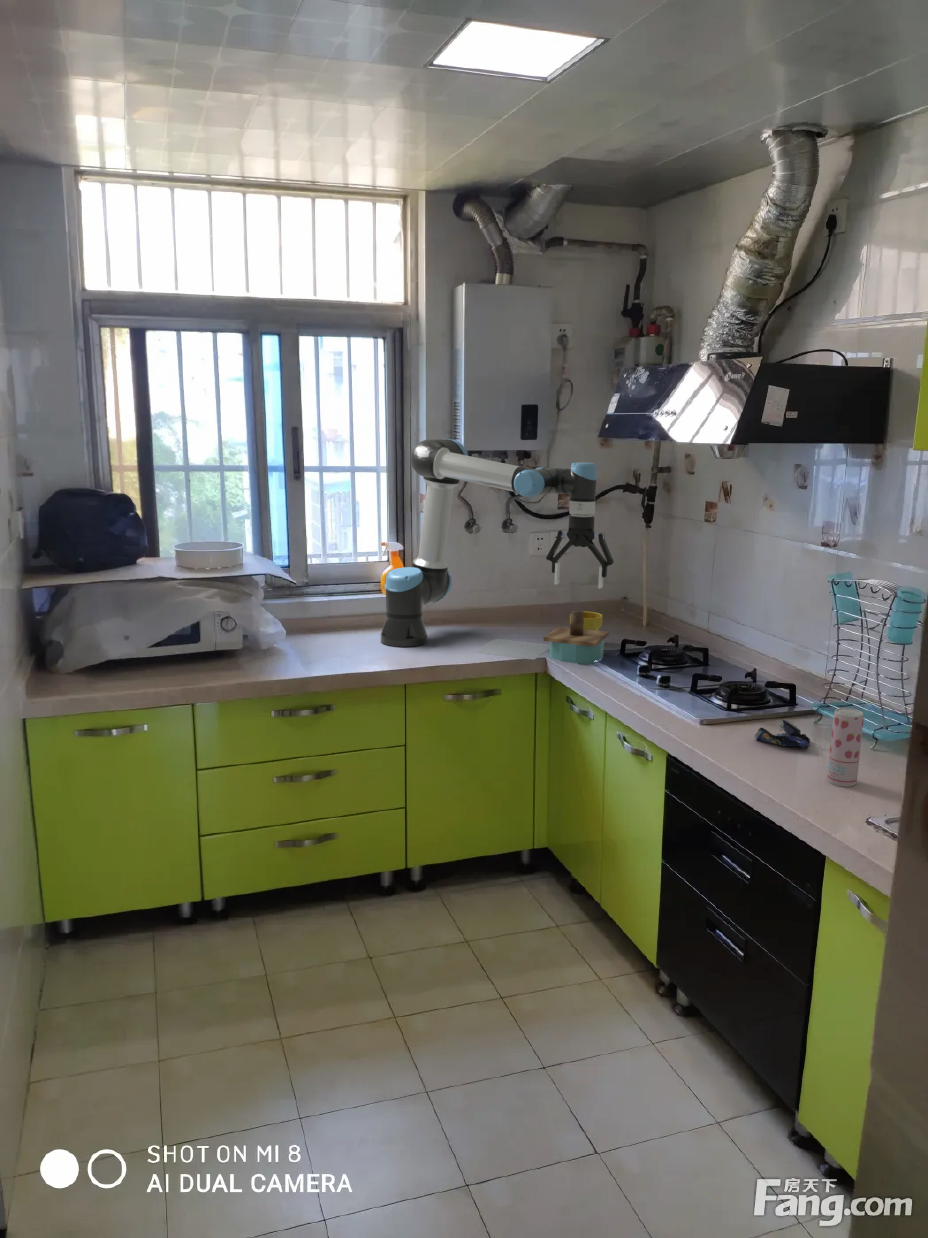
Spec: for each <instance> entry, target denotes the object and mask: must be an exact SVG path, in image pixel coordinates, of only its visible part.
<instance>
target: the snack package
mask: <svg viewBox="0 0 928 1238" xmlns="http://www.w3.org/2000/svg"><path fill="white" fill-rule="evenodd" d="M779 727H780V729H779V731H780V732H782V731H784V732H782V733H775V734H772V733H771V732H770V731H768V730H767V729H766V728H764V727H759V728H758V730H757V732H756V733H755V734H754V736H753V738H754V740H755V741H764V742H768V743H770V744H771V743H772V744H775V745H779V746H784V747H793V746H794V747H795V746H798V747H801V748H802V749H805V750H807V749H808V747H809V746H810V745H809V744H810V743H811V739H810V738H809V736H807V734H805V733H802V732H801V729H800V728H798V727H797V726H796V725H794V724H793V723H791V722H790V721H789V720H786V719H784V718H782V719H780V721H779Z"/></svg>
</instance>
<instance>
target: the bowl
mask: <svg viewBox="0 0 928 1238" xmlns="http://www.w3.org/2000/svg"><path fill="white" fill-rule="evenodd" d="M604 644H605V639H604V640H603V641H601V642H600V643H599V644H598V645H597V646H596V647H593V646H584V645H575V644H566V643H556V642H548V645H549V650H548V656H549V657H550V658H551V659H553V660H557V661H559V662H565V663H574V664H575V663H577V665H591V664H594V663H593V662H594V661H595V660H599V659H600V658H602V657H603V658H604V652H605V651H604V647H605V645H604Z"/></svg>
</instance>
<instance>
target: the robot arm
mask: <svg viewBox="0 0 928 1238" xmlns="http://www.w3.org/2000/svg"><path fill="white" fill-rule="evenodd" d="M410 464H411V467H412V468H413V470H414V472H415V473H416V474H418V475H420V476H421V477H423V481H424V483H425V484H426V485H427V486H426V493H425V499H424V500H425V501H424V507H423V508H424V509H423V517H422V524H421V534H420V541H419V548H418V550H419V551H418V556H417V558H415V559H413V560H412V566H410V567H409V566H404V567H398V568H394V569H392V570H390V571H388V573H387V574H386V577H385V584H384V585H385V620H384V623H383V625H382V626H383V627H382V629H381V633H380V643H382V645H385V646H391V647H398V648H399V647H403V648H407V647H417V646H422V645H425V644H427V643H428V633H427V629H426V626H425V623H424V620H423V606H425V605H428V604H432V603H433V604H435V603H437V602H440V601H441V600H443V599H444V598H446V597H447V596H448V595H449V594H450V591H451V589H452V585H453V581H452V580H453V579H452V575H450V571H449V570H448V568H449V567H448V566H449V564H448V563H447V561H446V560H445V555H446V550H447V549H446V548H447V541H448V533H449V527H450V518H451V511H452V503H453V496H454V488H456V487H457V486H459V484H460V481H462V482H463V481H464V482H468V483H471V484H472V483H473V484H476V485H480V486H481V485H482V486H485V487H486V486H487V487H491V488H496V489H499V490H500V489H501V490H505V491H510V492H515V493H517V494H519V495H520V496H521V497H526V498H527V497H528V498H533V497H536V496H542V495H543V496H544V495H551V494H563V495H569V516H568V530H567V531H566V530H564V529H560V530H558V531H557V534H556V535H557V536H556V539H555V541H554V542H553V545H552V546H551V548H550V550H549V552H548V554H547V555H546V558H545V559H546V561H550V562H551V573H552V574H554V583H553V584H554V585H555V586H557V585H559V584H560V577H561V576H560V575H561V571H560V570H561V562H560V561H559V560H560V559H561V558H562V557H563V556H564V555H565V554H566V553H567V551H568V550H569V549H570V548H571V547H572V546H574V547H575V548H578V547H581V548H586V547H587V548H588V549H589V550H590V551H591V553H592V554H593V556H594V557H595V559H596V560H597V561H598V563H600V566H599V567H598V569H599V570H598V584H597V588H598V589H599V590H600V589H602V588H604V578H606V577H607V575H608V566H612V565H613V564H615V561H614V559H613V556H612V553H611V551H610V548H609V547H608V544H607V543H606V539H605V533H604V532H600V533H597V532H595V517H594V516H595V513H596V496H597V495H596V494H597V480H598V475H597V473H598V472H597V465H596V464H595V463H593V462H579V461H578V462H573V463H571V465H570V468H559V467H549V466H544V467H543V466H542V467H536V468H529V467H526V466H525V467H524V466H519V465H514V464H510V463H503V462H499V461H494V460H490V459H485V458H480V457H476V456H470V455H468V451H467V449H466V448H465V446H464V445H463V444H462V443H461V442H460V441H458V440H455V439H449V438H439V439H437V438H436V439H424V440H421V441H419V442H418V443H417V444H416V445H415V446H414V447H413V448H412V450H411V454H410ZM566 537H567V538H568V541H567V543H566V544H565V545H564V546H563V547H562V548H561V549H560V550H559V551H558V552H557V550H558V549H559V546H560V545H561V543H562V541H563V539H564V538H566ZM595 538H596V540H597V541H598V544H599V546H600V548H601V550H602V553H603V554H602V553H601V552H600V551H599V549H598V548H597V546H596V544H595V543H594V541H593V540H594V539H595ZM556 552H557V554H556ZM603 555H604V556H603Z"/></svg>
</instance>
